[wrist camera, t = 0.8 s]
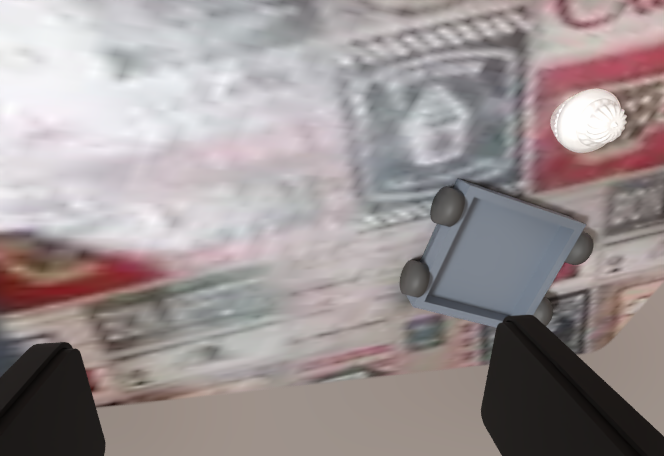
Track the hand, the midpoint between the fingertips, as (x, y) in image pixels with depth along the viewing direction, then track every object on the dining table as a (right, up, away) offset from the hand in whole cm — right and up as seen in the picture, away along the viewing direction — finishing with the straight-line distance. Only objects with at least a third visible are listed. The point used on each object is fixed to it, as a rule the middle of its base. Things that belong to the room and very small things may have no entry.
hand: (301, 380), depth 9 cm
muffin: (+26, +15, +32) cm, 44 cm away
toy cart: (+19, 0, +37) cm, 41 cm away
